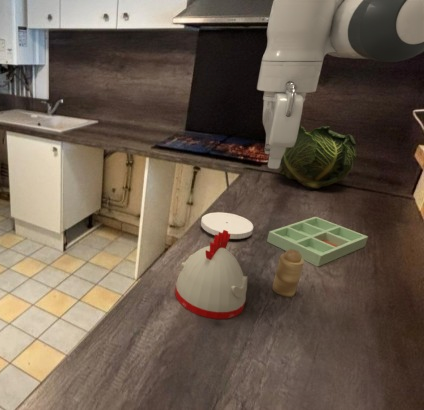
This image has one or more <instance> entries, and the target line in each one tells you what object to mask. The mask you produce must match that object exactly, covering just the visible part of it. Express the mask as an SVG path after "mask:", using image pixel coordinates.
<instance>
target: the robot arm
mask: <svg viewBox="0 0 424 410" xmlns="http://www.w3.org/2000/svg"><path fill="white" fill-rule="evenodd" d="M271 5H272V6H271V9H270V14H269V18H268V22H267V23H268V24H267V29H266V37H267V38H266V39H267V43H266V48H265V51H264V53H263V56H262V58H261V62H260V69H259V73H258V79H257V84H256V90H257V91H261V92H263V97H262V100H263V107H262V108H263V109H262V125H263V128H264V131H265V144H264V150H263V151H264V154H265V155H268V158H267V163H266V164H267V168H268V169H274V170H277V169H280V168H281V165H280V163H281V159H282V157H283V154H284V152H285V149H286V147H293V146H294V144H295V142H296V139H297V135H298V130H299V126H301V125H300V124H301V119H302V115H303V108H304V102H305V101H306V97H307V94H311V93H316V91H317V88H318V84H319V79H320V77H321V76H320V75H321V71H322V66H323V62H324V59H325V56H326V55H329V56H332V57H336V58H344V59H345V58H346V59H363V60H364V59H365V60H373V61H380V62H386V63H396V62H397V63H398V62H402V61H406V60H409V59H411V58H414V57H416V56H418V55H420V54H422V53H424V0H273V1H272V4H271Z"/></svg>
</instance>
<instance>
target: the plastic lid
mask: <svg viewBox="0 0 424 410" xmlns="http://www.w3.org/2000/svg"><path fill="white" fill-rule="evenodd" d="M200 226H201V228H202V229H203V231H205V232H206V233H208V234H210V235H213V236H215V234H216V235H218V234H219V232H221V233H223V230H226V231H228V233H229V234H231V235H230V238H229V240H241V239H245V238H249V237H251V236H252V235H253V231H254V224H253V223H252V221H250V220H249V219H247V218H246V217H243V216H240V215H238V214H234V213H230V212H219V211H217V212H209V213H206V214H204V215H203V216H202V217H201V220H200Z"/></svg>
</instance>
